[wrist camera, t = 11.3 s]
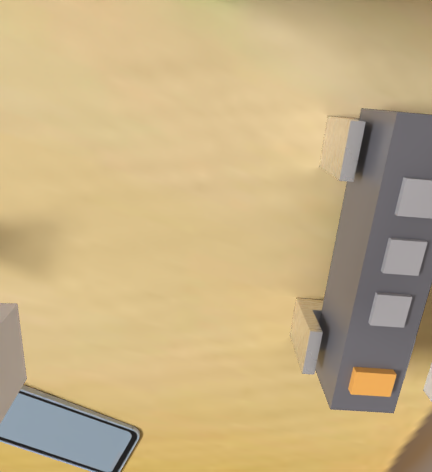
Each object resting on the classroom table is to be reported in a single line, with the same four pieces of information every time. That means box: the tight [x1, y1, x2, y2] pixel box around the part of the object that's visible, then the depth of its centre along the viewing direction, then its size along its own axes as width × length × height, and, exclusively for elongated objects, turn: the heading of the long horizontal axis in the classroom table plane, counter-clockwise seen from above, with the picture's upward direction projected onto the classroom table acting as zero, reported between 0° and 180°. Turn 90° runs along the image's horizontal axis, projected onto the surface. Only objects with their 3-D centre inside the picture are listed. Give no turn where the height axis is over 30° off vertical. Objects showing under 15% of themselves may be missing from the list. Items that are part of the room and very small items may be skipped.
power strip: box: [315, 108, 432, 413], centre depth 30 cm, size 22×5×7 cm, turn 175°
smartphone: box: [0, 385, 140, 472], centre depth 42 cm, size 7×1×15 cm
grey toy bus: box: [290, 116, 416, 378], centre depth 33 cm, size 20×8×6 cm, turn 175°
